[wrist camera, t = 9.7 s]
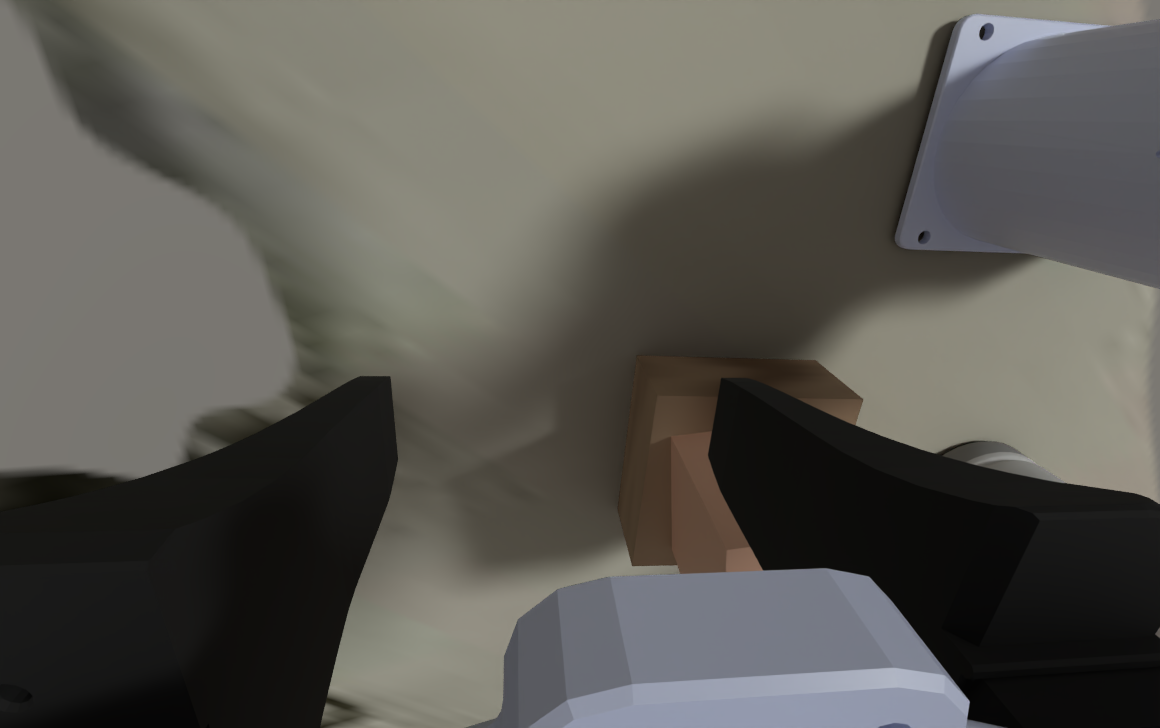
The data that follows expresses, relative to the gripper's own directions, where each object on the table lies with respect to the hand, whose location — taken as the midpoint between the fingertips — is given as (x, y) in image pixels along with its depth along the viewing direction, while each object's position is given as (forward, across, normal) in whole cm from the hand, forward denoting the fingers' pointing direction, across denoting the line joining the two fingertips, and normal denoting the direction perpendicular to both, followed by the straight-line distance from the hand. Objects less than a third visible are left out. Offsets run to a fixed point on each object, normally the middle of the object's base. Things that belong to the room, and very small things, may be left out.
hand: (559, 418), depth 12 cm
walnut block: (+11, -8, +7) cm, 15 cm away
